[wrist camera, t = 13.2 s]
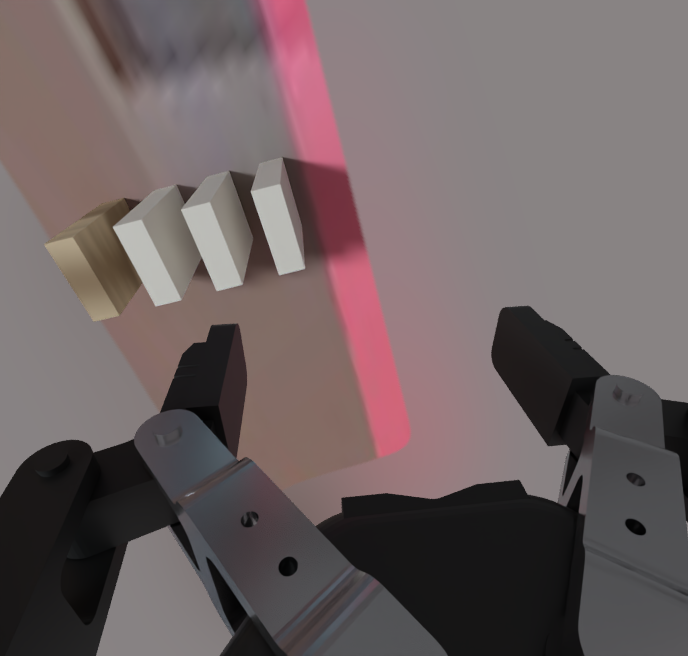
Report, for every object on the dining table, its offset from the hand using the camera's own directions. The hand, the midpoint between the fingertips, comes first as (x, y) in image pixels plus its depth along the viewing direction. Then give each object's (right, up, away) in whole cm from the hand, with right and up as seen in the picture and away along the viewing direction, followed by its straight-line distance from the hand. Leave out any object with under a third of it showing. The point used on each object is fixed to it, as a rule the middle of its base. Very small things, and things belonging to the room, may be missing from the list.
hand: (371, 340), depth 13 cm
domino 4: (-5, +10, +17) cm, 20 cm away
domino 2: (-13, +8, +17) cm, 23 cm away
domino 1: (-16, +7, +17) cm, 25 cm away
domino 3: (-9, +9, +17) cm, 21 cm away
